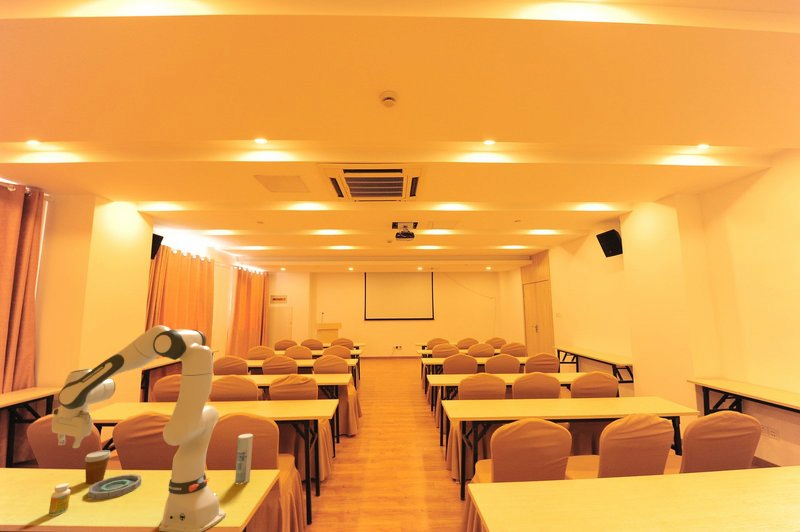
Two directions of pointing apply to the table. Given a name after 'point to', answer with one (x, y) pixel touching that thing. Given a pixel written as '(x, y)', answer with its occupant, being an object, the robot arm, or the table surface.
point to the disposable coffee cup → (96, 466)
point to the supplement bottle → (59, 499)
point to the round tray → (114, 486)
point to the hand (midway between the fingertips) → (68, 446)
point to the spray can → (243, 458)
